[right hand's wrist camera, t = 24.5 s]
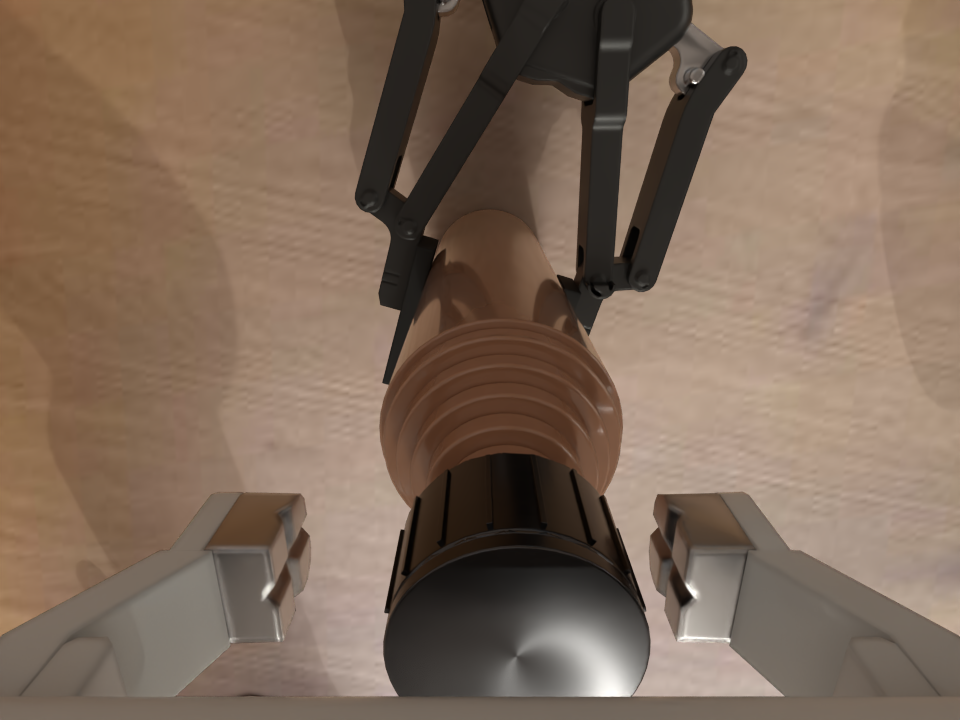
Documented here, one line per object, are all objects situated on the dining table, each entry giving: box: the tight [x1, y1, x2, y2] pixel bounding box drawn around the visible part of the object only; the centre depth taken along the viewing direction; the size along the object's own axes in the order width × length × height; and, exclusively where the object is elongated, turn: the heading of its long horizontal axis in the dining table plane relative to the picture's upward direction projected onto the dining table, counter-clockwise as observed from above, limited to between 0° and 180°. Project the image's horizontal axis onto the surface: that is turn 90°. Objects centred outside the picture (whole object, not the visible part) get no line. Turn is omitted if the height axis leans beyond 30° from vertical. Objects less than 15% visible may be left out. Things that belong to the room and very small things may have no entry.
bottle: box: [379, 209, 623, 509], centre depth 21 cm, size 6×6×25 cm
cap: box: [383, 452, 650, 697], centre depth 9 cm, size 4×4×2 cm
